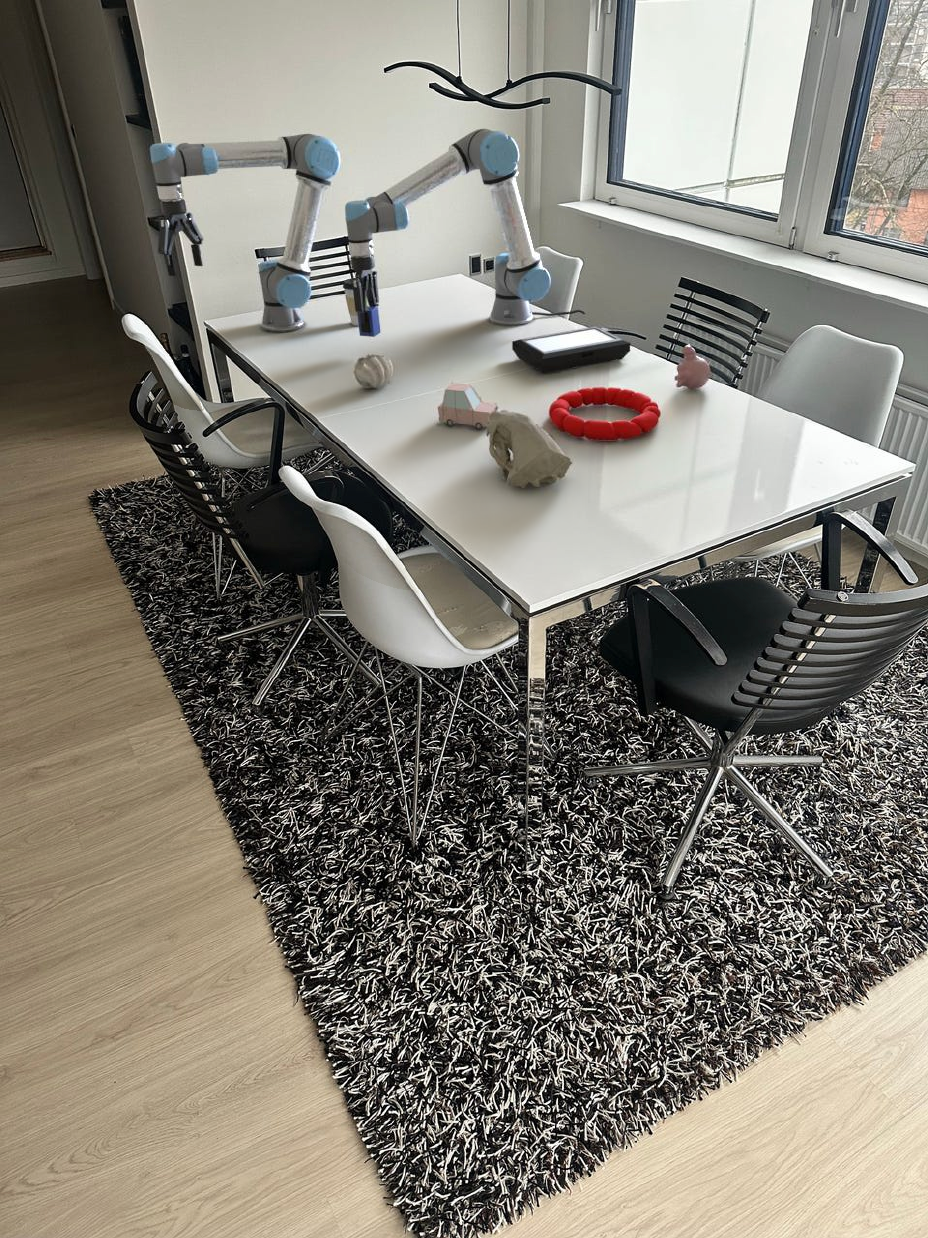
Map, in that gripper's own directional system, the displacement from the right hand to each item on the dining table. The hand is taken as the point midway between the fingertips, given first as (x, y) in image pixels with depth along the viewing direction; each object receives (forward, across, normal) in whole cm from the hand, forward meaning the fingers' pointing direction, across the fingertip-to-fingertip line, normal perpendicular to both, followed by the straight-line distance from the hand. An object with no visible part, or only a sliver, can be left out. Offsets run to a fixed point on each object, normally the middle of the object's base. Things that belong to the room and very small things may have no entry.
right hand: (369, 329), depth 293 cm
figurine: (+10, -1, -106) cm, 106 cm away
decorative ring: (+9, -33, -88) cm, 95 cm away
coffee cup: (+8, +30, +20) cm, 37 cm away
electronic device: (+9, +14, -64) cm, 67 cm away
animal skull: (+8, -70, -77) cm, 104 cm away
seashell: (+8, -29, -16) cm, 34 cm away
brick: (+2, 0, 0) cm, 2 cm away
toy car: (+8, -46, -53) cm, 71 cm away
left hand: (-19, -16, +57) cm, 62 cm away
